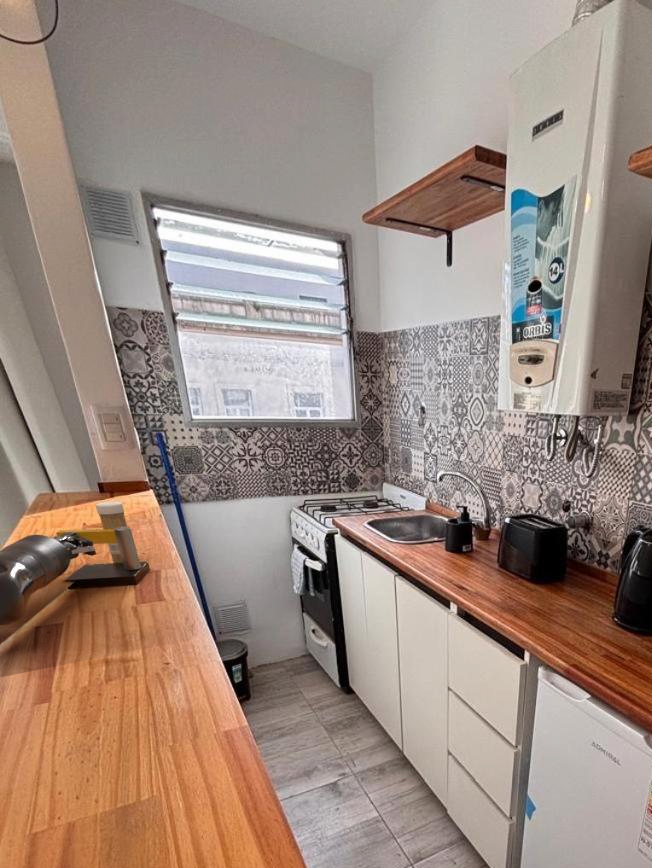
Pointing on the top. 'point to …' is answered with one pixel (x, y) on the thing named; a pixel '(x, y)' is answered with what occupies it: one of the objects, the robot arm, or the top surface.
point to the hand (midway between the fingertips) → (73, 537)
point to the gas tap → (113, 536)
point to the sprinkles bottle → (112, 523)
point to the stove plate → (106, 575)
